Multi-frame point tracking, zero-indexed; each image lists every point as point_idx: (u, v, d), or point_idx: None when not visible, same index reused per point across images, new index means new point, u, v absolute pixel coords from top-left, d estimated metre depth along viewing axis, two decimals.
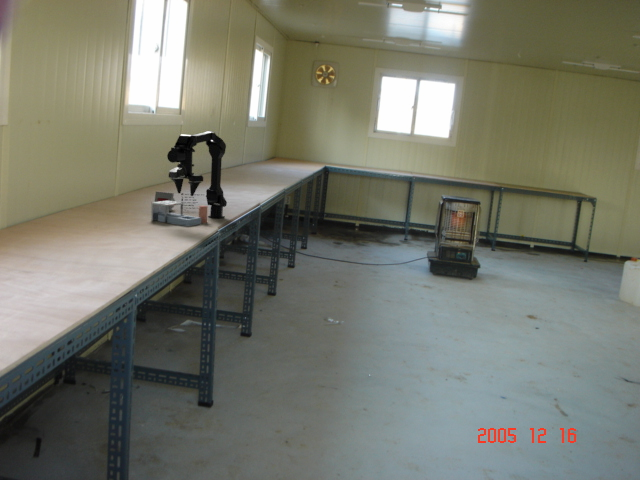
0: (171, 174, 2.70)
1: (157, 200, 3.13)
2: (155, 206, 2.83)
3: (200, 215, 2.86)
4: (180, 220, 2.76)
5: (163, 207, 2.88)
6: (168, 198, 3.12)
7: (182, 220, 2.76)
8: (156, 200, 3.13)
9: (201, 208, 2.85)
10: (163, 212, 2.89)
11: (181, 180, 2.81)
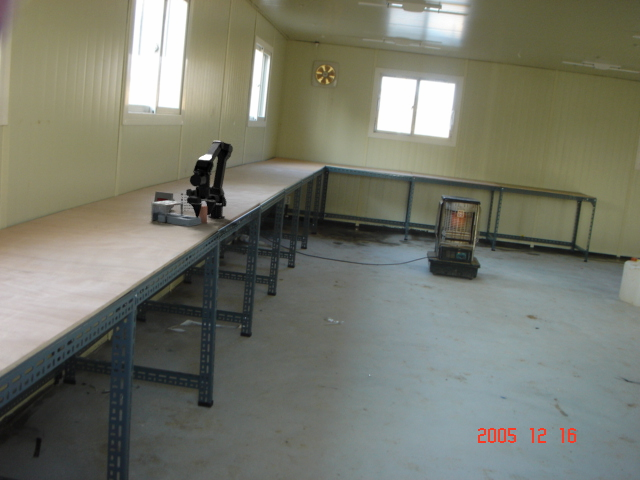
0: None
1: (157, 200, 3.13)
2: (155, 206, 2.83)
3: (200, 215, 2.86)
4: (180, 220, 2.76)
5: (163, 207, 2.88)
6: (168, 198, 3.12)
7: (182, 220, 2.76)
8: (156, 200, 3.13)
9: (201, 208, 2.85)
10: (163, 212, 2.89)
11: (212, 203, 2.90)
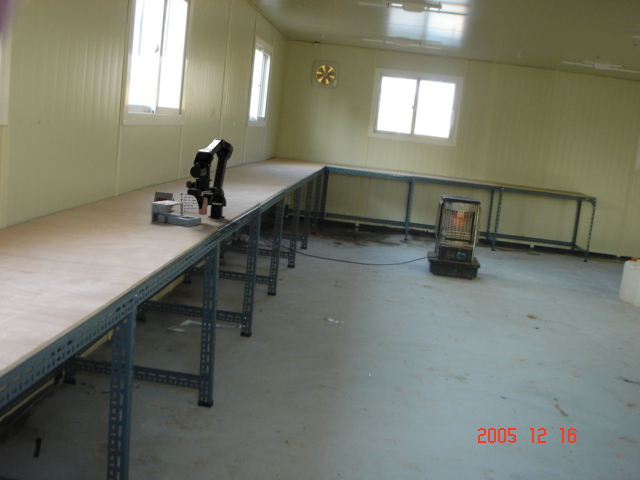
0: None
1: (156, 200, 3.13)
2: (155, 206, 2.83)
3: None
4: (180, 220, 2.76)
5: (163, 207, 2.88)
6: (167, 198, 3.11)
7: (182, 220, 2.76)
8: (155, 200, 3.13)
9: None
10: (163, 212, 2.89)
11: (209, 196, 2.87)
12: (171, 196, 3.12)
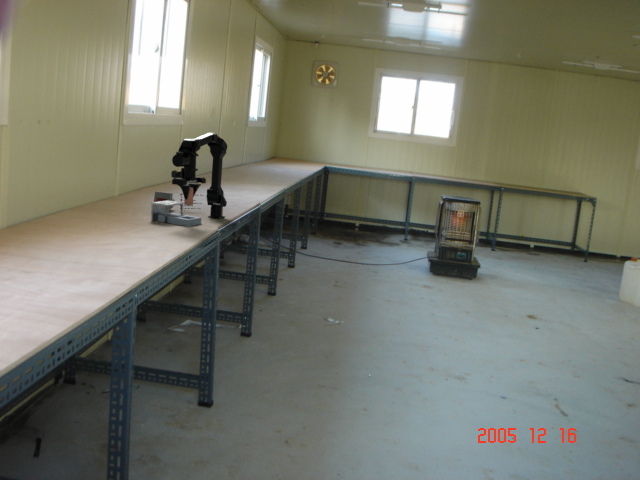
0: None
1: (156, 200, 3.13)
2: (155, 206, 2.83)
3: None
4: (180, 220, 2.76)
5: (163, 207, 2.88)
6: (167, 198, 3.11)
7: (182, 220, 2.76)
8: (155, 200, 3.13)
9: None
10: (163, 212, 2.89)
11: (195, 186, 2.79)
12: (171, 196, 3.11)
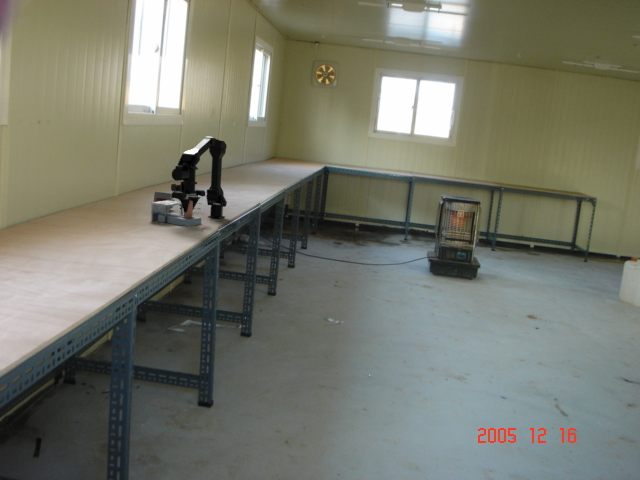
0: None
1: (156, 200, 3.13)
2: (155, 206, 2.83)
3: None
4: (180, 220, 2.76)
5: (163, 207, 2.88)
6: (166, 198, 3.11)
7: (182, 220, 2.76)
8: (155, 200, 3.13)
9: None
10: (163, 212, 2.89)
11: (194, 199, 2.80)
12: (170, 196, 3.11)
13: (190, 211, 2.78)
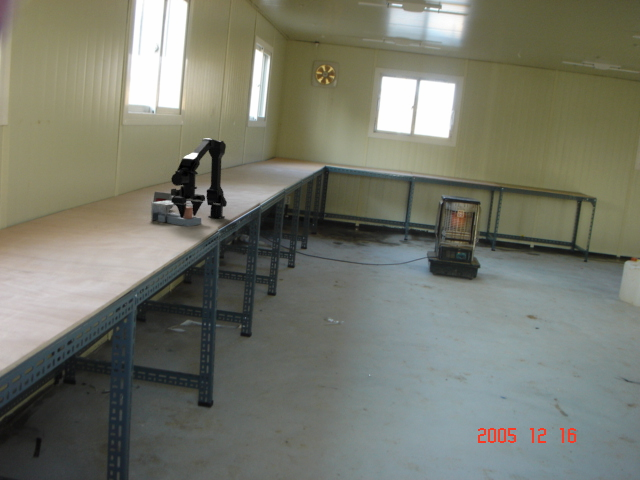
0: None
1: (156, 200, 3.12)
2: (155, 206, 2.83)
3: (185, 216, 2.79)
4: (180, 220, 2.76)
5: (163, 207, 2.88)
6: (166, 198, 3.11)
7: (182, 220, 2.76)
8: (155, 200, 3.13)
9: (186, 209, 2.78)
10: (163, 212, 2.89)
11: (197, 203, 2.83)
12: (170, 196, 3.11)
13: (190, 217, 2.79)
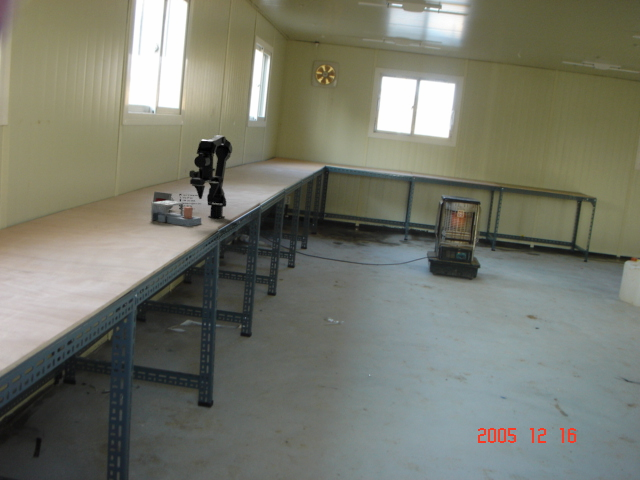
0: None
1: (155, 200, 3.12)
2: (155, 206, 2.83)
3: (185, 216, 2.79)
4: (180, 220, 2.76)
5: (163, 207, 2.88)
6: (166, 198, 3.10)
7: (182, 220, 2.76)
8: (154, 200, 3.13)
9: (186, 209, 2.78)
10: (163, 212, 2.89)
11: (215, 185, 2.88)
12: (169, 196, 3.11)
13: (190, 217, 2.79)
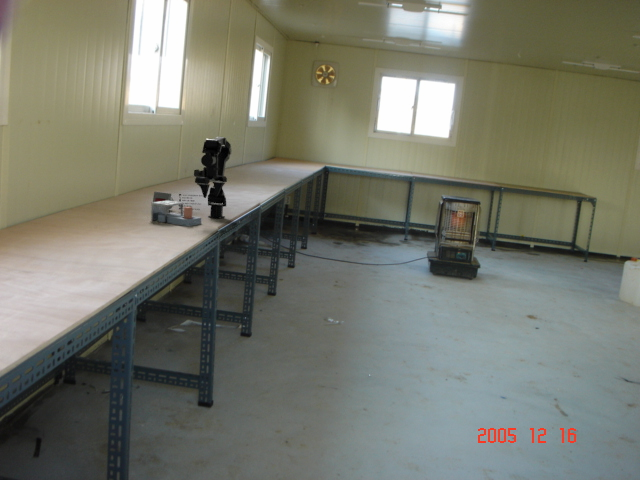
0: None
1: (155, 200, 3.12)
2: (155, 206, 2.83)
3: (185, 216, 2.79)
4: (180, 220, 2.76)
5: (163, 207, 2.88)
6: (165, 198, 3.10)
7: (182, 220, 2.76)
8: (154, 200, 3.12)
9: (186, 209, 2.78)
10: (163, 212, 2.89)
11: (219, 184, 2.90)
12: (169, 196, 3.10)
13: (190, 217, 2.79)
